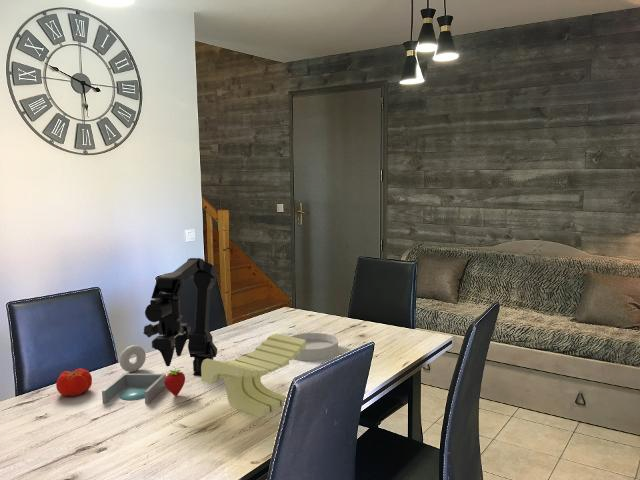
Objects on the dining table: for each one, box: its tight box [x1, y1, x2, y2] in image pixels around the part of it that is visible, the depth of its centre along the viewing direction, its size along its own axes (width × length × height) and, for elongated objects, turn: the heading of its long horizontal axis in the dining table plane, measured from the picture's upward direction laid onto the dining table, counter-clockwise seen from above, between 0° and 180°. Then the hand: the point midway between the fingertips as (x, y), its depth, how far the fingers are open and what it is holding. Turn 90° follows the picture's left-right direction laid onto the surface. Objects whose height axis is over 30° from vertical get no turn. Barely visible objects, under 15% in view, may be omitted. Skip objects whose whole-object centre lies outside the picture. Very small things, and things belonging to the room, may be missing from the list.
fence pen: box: [101, 373, 167, 405], centre depth 171 cm, size 15×15×4 cm
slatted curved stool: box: [201, 333, 306, 418], centre depth 161 cm, size 30×16×18 cm, turn 143°
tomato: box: [55, 368, 93, 397], centre depth 172 cm, size 11×11×8 cm
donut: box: [119, 344, 147, 373], centre depth 191 cm, size 10×4×10 cm, turn 138°
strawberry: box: [164, 365, 186, 397], centre depth 168 cm, size 6×8×10 cm
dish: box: [290, 332, 340, 362], centre depth 209 cm, size 22×22×5 cm
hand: (173, 360), depth 168 cm, fingers open, 9 cm apart
